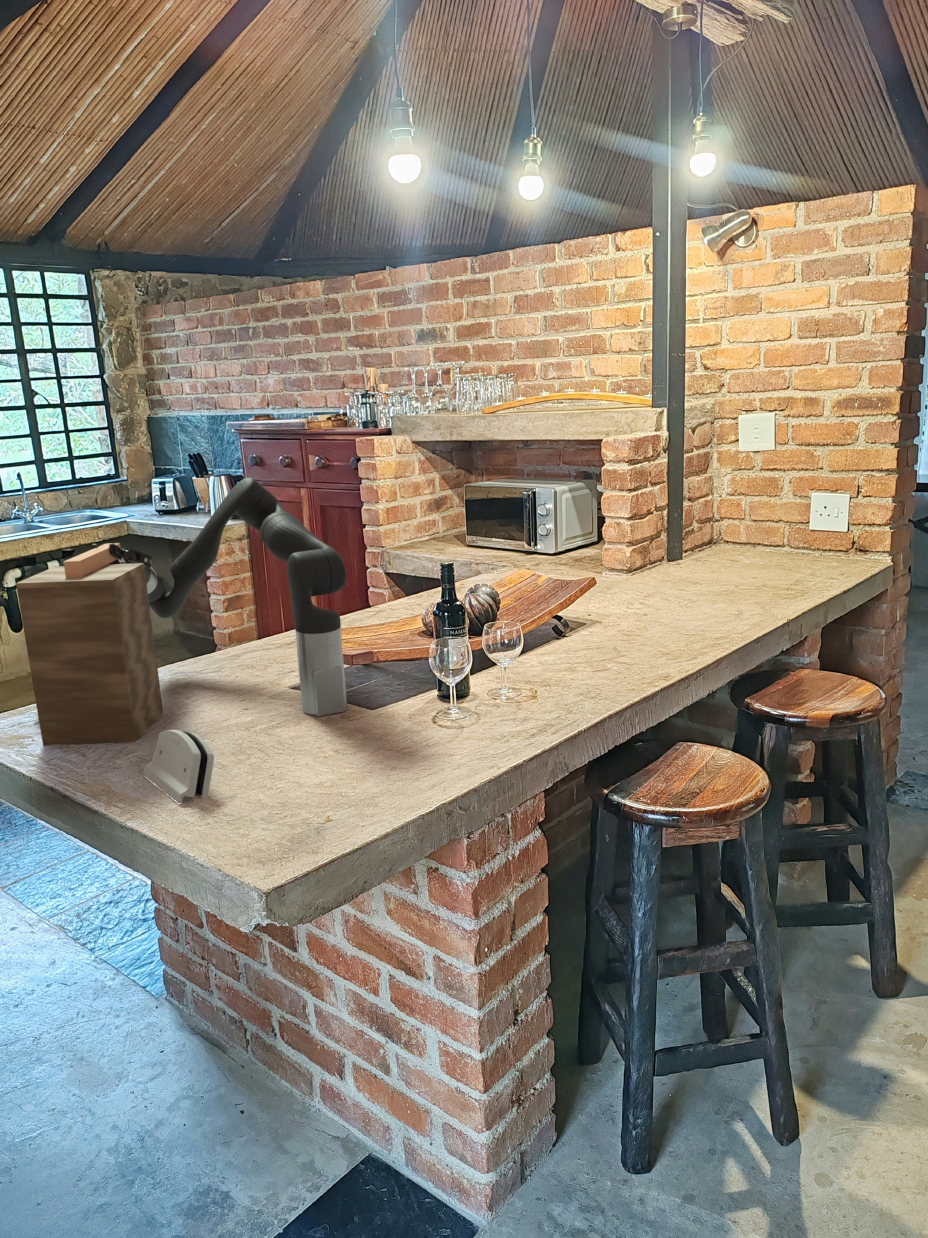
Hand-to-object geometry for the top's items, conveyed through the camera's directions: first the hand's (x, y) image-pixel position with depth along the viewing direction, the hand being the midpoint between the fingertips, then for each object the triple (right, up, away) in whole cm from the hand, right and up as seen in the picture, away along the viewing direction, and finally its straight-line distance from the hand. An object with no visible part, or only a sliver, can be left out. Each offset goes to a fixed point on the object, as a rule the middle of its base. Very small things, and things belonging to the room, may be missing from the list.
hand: (102, 548), depth 184 cm
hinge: (+25, -43, -29) cm, 57 cm away
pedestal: (+1, -36, -2) cm, 36 cm away
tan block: (0, -4, -4) cm, 5 cm away
